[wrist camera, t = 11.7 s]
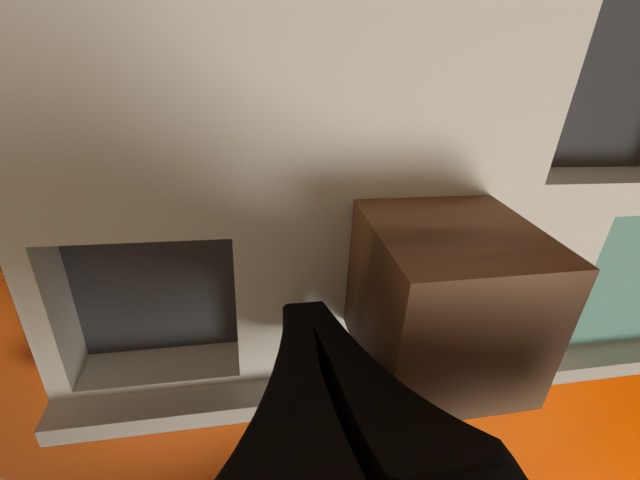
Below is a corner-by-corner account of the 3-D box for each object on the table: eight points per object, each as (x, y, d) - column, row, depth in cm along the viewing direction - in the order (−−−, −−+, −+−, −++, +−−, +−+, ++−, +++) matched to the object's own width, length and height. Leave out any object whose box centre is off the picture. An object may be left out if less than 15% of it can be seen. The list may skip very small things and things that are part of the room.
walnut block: (461, 308, 15) (541, 408, 11) (343, 319, 14) (385, 430, 10) (490, 194, 13) (600, 269, 9) (353, 199, 12) (410, 283, 8)
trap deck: (642, 319, 20) (706, 366, 18) (74, 372, 16) (40, 447, 13) (808, -6, 14) (950, -13, 11) (-67, -85, 9) (-195, -131, 6)
